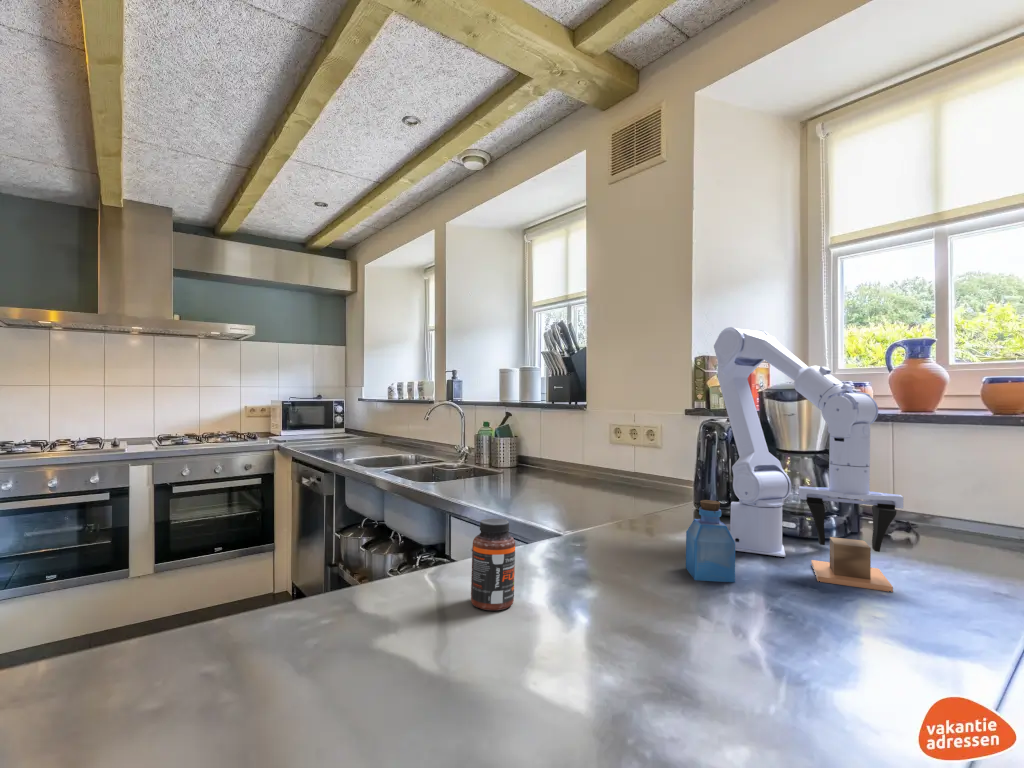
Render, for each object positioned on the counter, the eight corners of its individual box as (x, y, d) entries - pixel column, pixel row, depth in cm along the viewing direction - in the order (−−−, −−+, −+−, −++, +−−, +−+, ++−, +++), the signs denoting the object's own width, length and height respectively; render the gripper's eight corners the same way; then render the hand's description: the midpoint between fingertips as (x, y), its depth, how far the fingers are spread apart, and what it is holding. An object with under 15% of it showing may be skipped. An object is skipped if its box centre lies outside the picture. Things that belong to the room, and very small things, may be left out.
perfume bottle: (723, 570, 89) (723, 499, 90) (734, 582, 83) (735, 506, 84) (685, 568, 90) (686, 497, 90) (694, 580, 84) (695, 504, 84)
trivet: (817, 581, 85) (817, 576, 85) (811, 564, 94) (811, 559, 94) (892, 592, 80) (892, 586, 80) (878, 573, 89) (878, 568, 90)
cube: (833, 574, 86) (834, 543, 86) (829, 566, 90) (829, 536, 90) (870, 579, 84) (870, 548, 84) (864, 570, 88) (864, 540, 88)
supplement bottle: (509, 614, 69) (511, 527, 69) (465, 610, 70) (467, 524, 70) (517, 598, 74) (519, 517, 75) (477, 594, 76) (479, 515, 76)
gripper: (801, 463, 87) (800, 546, 87) (908, 471, 81) (908, 559, 81) (798, 459, 93) (797, 536, 93) (897, 466, 87) (896, 548, 87)
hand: (848, 546), depth 87 cm, fingers open, 7 cm apart
